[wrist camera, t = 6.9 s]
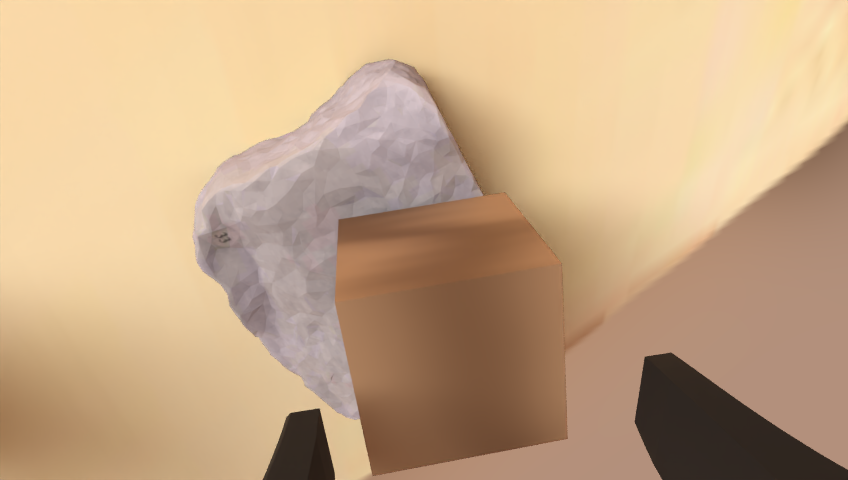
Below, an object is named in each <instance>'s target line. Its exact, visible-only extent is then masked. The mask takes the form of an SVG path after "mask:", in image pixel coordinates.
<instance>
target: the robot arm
mask: <svg viewBox="0 0 848 480" xmlns="http://www.w3.org/2000/svg"><path fill="white" fill-rule="evenodd" d="M635 424H636V426H637V428H638V431H639V433H640V435H641V438H642V440H643V442H644V445H645V446H646V449H647V451H648V453H649V455H650V458H651V459H652V462H653V464H654V466H655V468H656V469H657V471H658V473H659V475H660V476H661V478H662V480H848V470H847V469H845V468H844V467H842V466H840V465H838V464H836V463H835V462H833V461H831V460H830V459H828V458H826V457H824V456H823V455H821V454H819V453H818V452H816V451H814V450H813V449H811V448H810V447H808V446H806V445H805V444H803V443H802V442H800V441H798V440H797V439H795V438H794V437H792V436H790V435H789V434H787V433H786V432H784V431H783V430H781V429H779V428H778V427H776V426H775V425H773V424H772V423H770V422H769V421H767V420H766V419H764V418H763V417H761V416H760V415H758V414H757V413H756V412H754V411H753V410H751V409H750V408H748V407H747V406H745V405H744V404H742V403H741V402H740V401H738V400H737V399H735V398H734V397H732V396H731V395H730V394H728V393H727V392H726V391H724V390H723V389H721V388H720V387H718V386H717V385H716V384H714V383H713V382H712V381H710V380H709V379H707V378H706V377H705V376H703V375H702V374H700V373H699V372H697V371H696V370H695V369H694V368H692V367H691V366H689V365H688V364H686V363H685V362H684V361H682V360H681V359H680V358H678V357H676V356H675V355H674V354H672V353H666V354H660V355H653V356H647V357H645V359H644V366H643V372H642V378H641V385H640V392H639V398H638V404H637V410H636V417H635ZM263 480H335V473H334V468H333V464H332V460H331V455H330V451H329V447H328V443H327V438H326V434H325V430H324V426H323V421H322V417H321V413H320V408H319V409H313V410H307V411H300V412H294V413H290V414H289V415H288V416H287V418H286V420H285V423H284V427H283V430H282V433H281V435H280V438H279V441H278V444H277V446H276V449H275V451H274V454H273V457H272V459H271V461H270V464H269V466H268V469H267V471H266V473H265V476H264V478H263Z"/></svg>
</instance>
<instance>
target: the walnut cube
mask: <svg viewBox="0 0 848 480" xmlns="http://www.w3.org/2000/svg"><path fill="white" fill-rule="evenodd" d="M335 306H336V311H337V315H338V320H339V324H340V329H341V333H342V338H343V343H344V347H345V352H346V356H347V361H348V365H349V370H350V374H351V379H352V384H353V388H354V393H355V397H356V402H357V406H358V411H359V416H360V420H361V425H362V429H363V434H364V438H365V443H366V447H367V452H368V457H369V461H370V466H371V470H372V475H373V476H375V475H380V474H386V473H391V472H396V471H401V470H407V469H412V468H417V467H422V466H427V465H433V464H438V463H443V462H449V461H454V460H459V459H464V458H469V457H474V456H479V455H485V454H490V453H495V452H501V451H506V450H511V449H517V448H522V447H527V446H532V445H538V444H543V443H548V442H553V441H558V440H564V439H567V438H568V437H567V407H566V379H565V348H564V318H563V288H562V263H561V262H560V261H559V260H558V258H557V257H556V256H555V255H554V253H553V252H552V251H551V250H550V248H549V247H548V246H547V245H546V243H545V242H544V241H543V240H542V238H541V237H540V236H539V235H538V233H537V232H536V231H535V230H534V228H533V227H532V226H531V225H530V223H529V222H528V221H527V220H526V218H525V217H524V216H523V215H522V213H521V212H520V211H519V210H518V208H517V207H516V206H515V205H514V203H513V202H512V201H511V200H510V198H509V197H508V196H507V195H506V193H505V192H504V193H498V194H492V195H486V196H480V197H474V198H467V199H461V200H455V201H449V202H443V203H437V204H431V205H424V206H418V207H412V208H406V209H400V210H394V211H388V212H382V213H375V214H369V215H363V216H357V217H351V218H345V219H339V220H338V242H337V264H336V285H335Z"/></svg>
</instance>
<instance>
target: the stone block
mask: <svg viewBox="0 0 848 480" xmlns="http://www.w3.org/2000/svg"><path fill="white" fill-rule="evenodd" d="M480 196H484V195H483V193H482V192H481V190H480V188H479V186H478V184H477V182H476V180H475V178H474V176H473V174H472V172H471V171H470V169H469V167H468V165H467V163H466V161H465V159H464V157H463V155H462V154H461V152H460V149H459V147H458V145H457V143H456V141H455V139H454V137H453V135H452V133H451V132H450V130H449V128H448V126H447V124H446V122H445V121H444V119H443V117H442V115H441V113H440V111H439V109H438V107H437V105H436V103H435V101H434V99H433V97H432V96H431V94H430V92H429V90H428V88H427V85H426V83H425V82H424V80H423V78H422V77H421V76H420V75H419V74H418V73H417V71H416V69H415V68H414V67H412V66H409V65H407V64H404V63H401V62H399V61H396V60H389V59H388V60H383V61H378V62H374V63H369V64H365V65H364V66H363V67H362V68H360V69H359V70H358V71H357V72H355V73H354V74H353V75H352V76H351V77H350V78H348V80H347V81H346V82H345V84H344V85H343V86H342V87H340V88H339V89H338V90H337V91H336V93H335V94H334V95H333V96H332V98H331V99H329V100H328V101H327V102H325V103H324V104H323V105H321V106H320V107H319V108H318V109H317V110H316V111H315V112H314V113H313V114H312V115H311V117H310V119H309V121H308V122H307V123H305V124H304V125H302V126H301V127H299V128H298V129H296V130H295V131H293V132H290V133H288V134H285V135H283V136H280V137H278V138H273V139H268V140H265V141H262V142H259V143H258V144H256V145H254V146H252V147H251V148H249V149H248V150H246V151H244V152H243V153H241V154H238V155H235V156H232V157H231V158H229V159H228V160H226V161H224V162H223V163H222V164H221V165H220V166H219V167H218V168H217V170H216V172H215V173H214V175H213V176H212V177H211V179H210V181H209V182H208V183H207V184H206V185H205V186H204V188H203V189H202V191H201V192H200V194H199V196H198V199H197V202H196V204H195V219H194V231H193V240H194V244H195V255H196V260H197V263H198V265H199V266H200V268H201V269H202V271H203V272H204V273H206V274H207V275H208V276H210V277H211V278H213V279H214V280H215V281H217V282H218V283H219V284H221V286H222V287H223V289H224V290H225V292H226V293H227V294H228V299H229V304H230V307H231V308H232V310H233V311H234V313H235V314H236V315H237V317H238V318H239V319H240V320H241V322H242V324H243V325H244V326H245V327H246V328H247V329H248V330H249V331H250V332H251V333H253V335H254V336H255V337H259V338H260V340H261V342H262V343H263V345H264V346H265V347H266V349H267V350H268V351H269V353H270V355H271V356H273V357H274V358H275V359H277V360H278V361H279V362H280V363H281V364H282V365H283V366H284V367H285V368H287V369H288V370H289V371H291V372H293V373H295V374H297V375H299V376H301V378H302V380H303V381H304V384H305V386H306V387H307V388H309V389H310V390H311V391H313V392H314V393H315V394H316V395H317V396H319V397H320V398H321V399H322V400H323V401H324V402H326V403H327V404H328V405H329V406H330V407H332V408H333V409H334V410H335V411H336V412H337V413H340V414H342V415H344V416H345V417H347V418H351V419H355V420H356V419H360V416H359V411H358V406H357V402H356V397H355V393H354V388H353V384H352V379H351V374H350V370H349V365H348V361H347V356H346V352H345V347H344V343H343V338H342V333H341V329H340V324H339V320H338V315H337V311H336V306H335V285H336V264H337V242H338V220H339V219H345V218H351V217H357V216H363V215H369V214H375V213H382V212H388V211H394V210H400V209H406V208H412V207H418V206H424V205H431V204H437V203H443V202H449V201H455V200H461V199H467V198H474V197H480Z"/></svg>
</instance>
